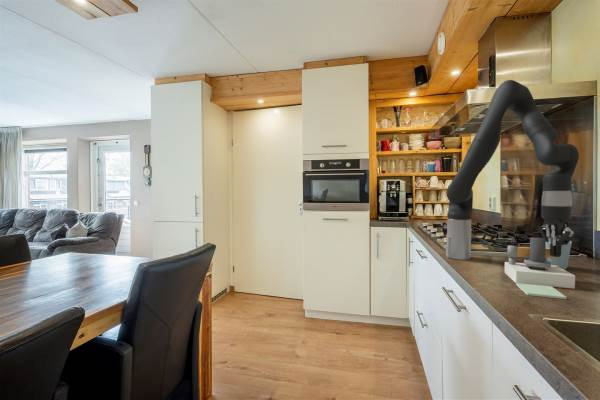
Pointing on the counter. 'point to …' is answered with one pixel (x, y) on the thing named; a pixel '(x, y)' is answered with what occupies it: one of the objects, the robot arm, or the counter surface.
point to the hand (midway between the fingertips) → (555, 256)
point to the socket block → (539, 275)
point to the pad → (541, 291)
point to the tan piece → (524, 252)
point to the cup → (564, 257)
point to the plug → (537, 255)
